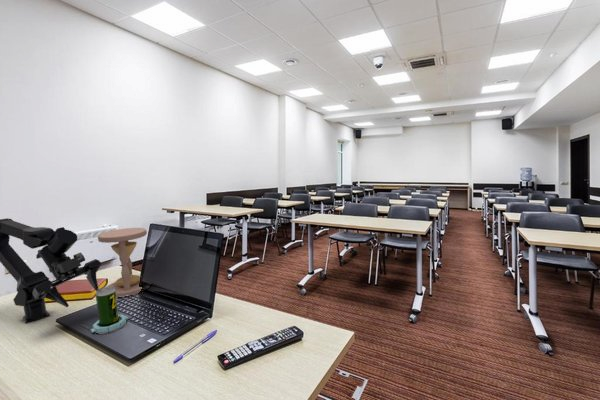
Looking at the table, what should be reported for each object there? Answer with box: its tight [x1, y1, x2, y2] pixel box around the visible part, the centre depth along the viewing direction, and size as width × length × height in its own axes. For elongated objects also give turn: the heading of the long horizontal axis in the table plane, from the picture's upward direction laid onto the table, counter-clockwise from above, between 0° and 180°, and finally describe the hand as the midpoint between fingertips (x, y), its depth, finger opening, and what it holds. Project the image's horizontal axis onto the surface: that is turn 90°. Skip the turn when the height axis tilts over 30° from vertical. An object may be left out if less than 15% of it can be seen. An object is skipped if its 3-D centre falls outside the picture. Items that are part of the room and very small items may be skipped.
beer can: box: [95, 285, 119, 327], centre depth 97 cm, size 5×5×12 cm
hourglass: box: [97, 227, 148, 297], centre depth 126 cm, size 18×18×25 cm
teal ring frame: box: [90, 314, 129, 334], centre depth 97 cm, size 9×10×2 cm
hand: (83, 298), depth 99 cm, fingers open, 9 cm apart
